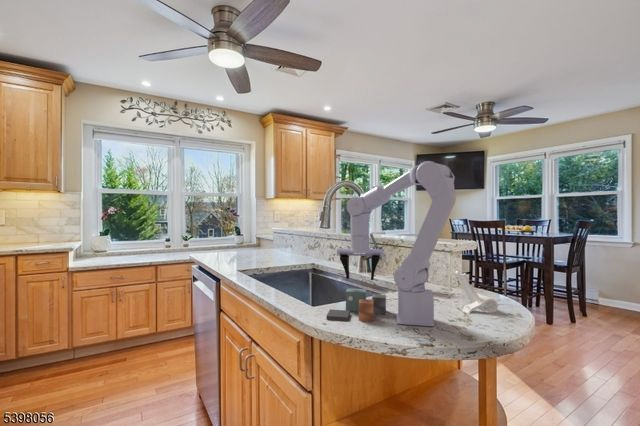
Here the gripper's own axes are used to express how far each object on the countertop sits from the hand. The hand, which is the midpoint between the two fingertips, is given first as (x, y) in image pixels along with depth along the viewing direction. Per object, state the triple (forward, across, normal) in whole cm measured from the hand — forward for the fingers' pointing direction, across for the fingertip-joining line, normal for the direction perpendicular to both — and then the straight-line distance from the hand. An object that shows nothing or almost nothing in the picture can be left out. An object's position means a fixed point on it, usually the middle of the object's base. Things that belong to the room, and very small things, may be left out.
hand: (360, 278), depth 101 cm
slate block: (+9, -6, +3) cm, 11 cm away
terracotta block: (+9, -2, +9) cm, 13 cm away
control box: (+9, +1, +2) cm, 10 cm away
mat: (+9, +6, +9) cm, 14 cm away
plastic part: (+10, -35, -6) cm, 37 cm away
